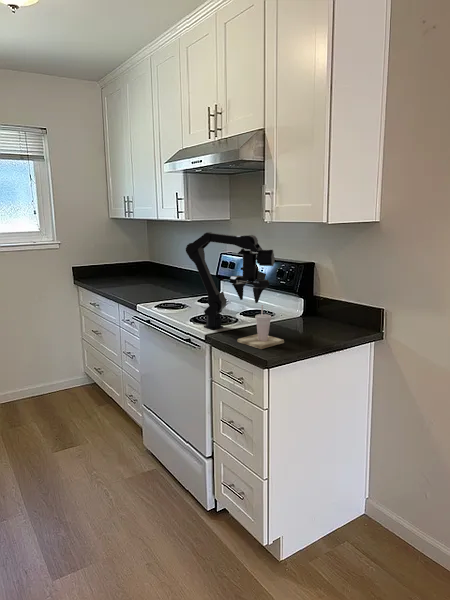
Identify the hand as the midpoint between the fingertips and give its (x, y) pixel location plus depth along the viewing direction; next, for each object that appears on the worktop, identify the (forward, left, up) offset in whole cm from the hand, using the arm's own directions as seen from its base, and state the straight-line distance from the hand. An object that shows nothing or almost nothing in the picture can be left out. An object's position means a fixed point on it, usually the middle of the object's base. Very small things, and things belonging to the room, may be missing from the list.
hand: (248, 301), depth 195 cm
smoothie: (+17, -9, -12) cm, 22 cm away
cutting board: (+16, -9, -13) cm, 22 cm away
